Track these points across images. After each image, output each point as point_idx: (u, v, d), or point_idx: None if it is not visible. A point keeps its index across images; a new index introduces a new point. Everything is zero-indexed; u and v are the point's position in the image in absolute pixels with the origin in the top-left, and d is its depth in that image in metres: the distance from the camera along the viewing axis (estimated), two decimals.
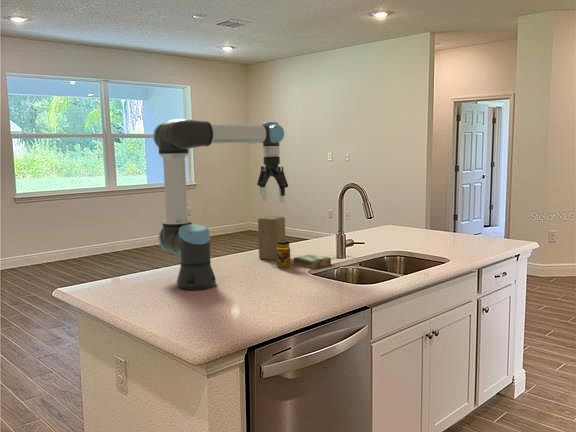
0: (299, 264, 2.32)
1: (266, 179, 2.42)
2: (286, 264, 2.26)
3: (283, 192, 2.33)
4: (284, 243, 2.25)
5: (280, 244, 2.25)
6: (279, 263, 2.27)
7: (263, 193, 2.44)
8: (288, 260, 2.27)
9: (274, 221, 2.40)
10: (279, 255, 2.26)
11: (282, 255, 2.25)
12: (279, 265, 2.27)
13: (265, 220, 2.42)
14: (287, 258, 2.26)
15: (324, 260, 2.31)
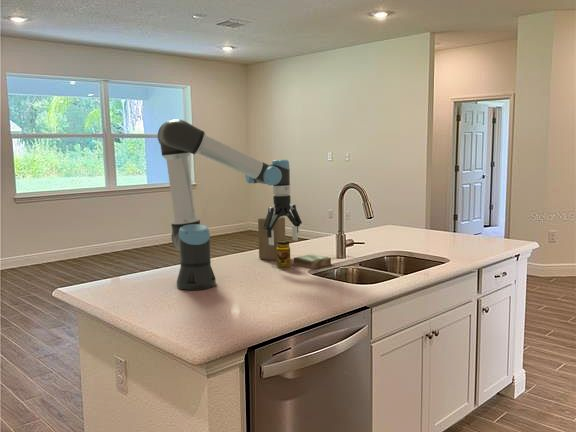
0: (299, 264, 2.32)
1: (290, 218, 2.30)
2: (286, 264, 2.26)
3: (268, 234, 2.23)
4: (284, 243, 2.25)
5: (280, 244, 2.25)
6: (279, 263, 2.27)
7: (293, 232, 2.32)
8: (288, 260, 2.27)
9: None
10: (279, 255, 2.26)
11: (282, 255, 2.25)
12: (279, 265, 2.27)
13: None
14: (287, 258, 2.26)
15: (324, 260, 2.31)
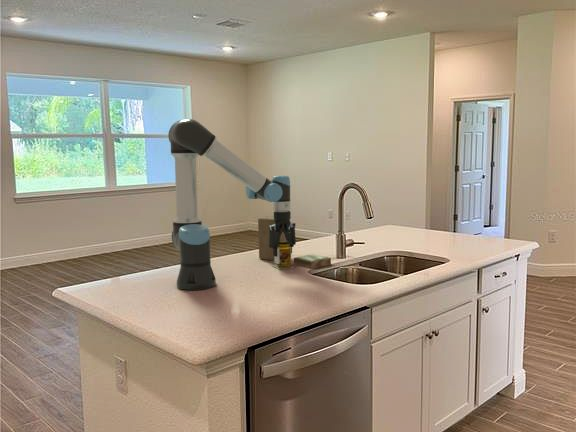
0: (299, 264, 2.32)
1: (286, 236, 2.30)
2: (287, 264, 2.26)
3: (274, 252, 2.26)
4: (285, 243, 2.25)
5: (281, 244, 2.26)
6: None
7: None
8: (288, 260, 2.27)
9: (274, 221, 2.40)
10: (279, 255, 2.26)
11: (283, 255, 2.26)
12: (279, 265, 2.27)
13: (265, 220, 2.42)
14: (287, 258, 2.26)
15: (324, 260, 2.31)
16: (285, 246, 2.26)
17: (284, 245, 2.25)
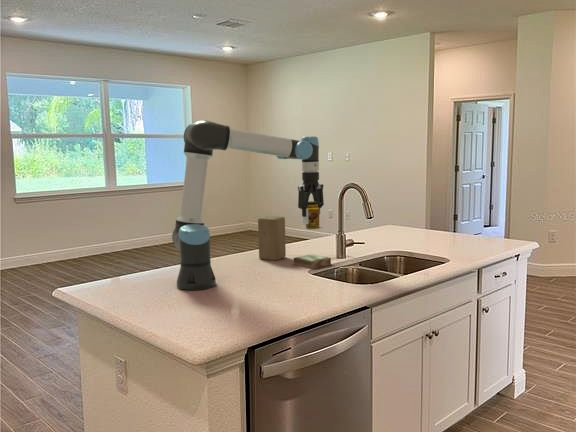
0: (299, 264, 2.32)
1: (314, 197, 2.32)
2: (316, 224, 2.29)
3: (302, 213, 2.28)
4: (313, 203, 2.27)
5: (309, 204, 2.28)
6: (308, 223, 2.29)
7: None
8: (317, 220, 2.29)
9: (274, 221, 2.40)
10: (308, 215, 2.28)
11: (312, 215, 2.28)
12: (308, 225, 2.29)
13: (265, 220, 2.42)
14: (316, 218, 2.28)
15: (324, 260, 2.31)
16: (314, 206, 2.28)
17: (313, 205, 2.27)
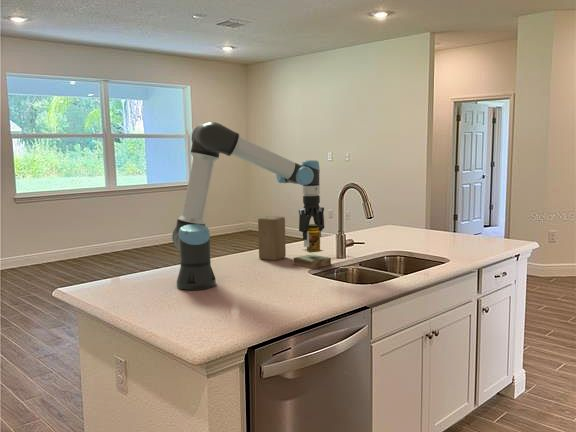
0: (299, 264, 2.32)
1: (315, 220, 2.33)
2: (316, 247, 2.30)
3: (303, 236, 2.30)
4: (314, 226, 2.29)
5: (310, 227, 2.29)
6: (309, 246, 2.30)
7: None
8: (318, 243, 2.30)
9: (274, 221, 2.40)
10: (309, 238, 2.30)
11: (312, 238, 2.29)
12: (309, 248, 2.30)
13: (265, 220, 2.42)
14: (317, 241, 2.30)
15: (324, 260, 2.31)
16: (315, 230, 2.29)
17: (314, 229, 2.29)
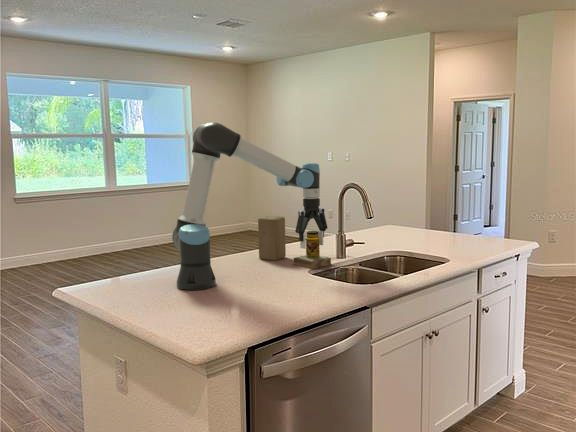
0: (299, 264, 2.32)
1: (317, 222, 2.34)
2: (316, 254, 2.30)
3: (300, 237, 2.28)
4: (314, 233, 2.29)
5: (310, 234, 2.29)
6: (309, 253, 2.31)
7: (319, 237, 2.36)
8: (317, 250, 2.31)
9: (274, 221, 2.40)
10: (309, 245, 2.30)
11: (312, 245, 2.29)
12: (309, 255, 2.31)
13: (265, 220, 2.42)
14: (316, 248, 2.30)
15: (324, 260, 2.31)
16: (314, 236, 2.29)
17: (313, 235, 2.29)
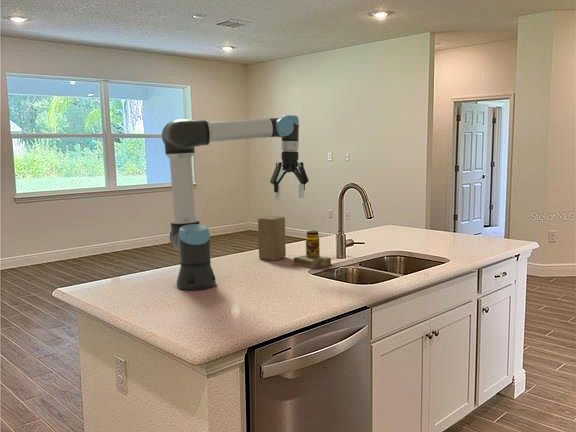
0: (299, 264, 2.32)
1: (297, 175, 2.31)
2: (316, 254, 2.30)
3: (274, 188, 2.24)
4: (314, 233, 2.29)
5: (310, 234, 2.29)
6: (309, 253, 2.31)
7: (300, 190, 2.33)
8: (317, 250, 2.31)
9: (274, 221, 2.40)
10: (309, 245, 2.30)
11: (312, 245, 2.29)
12: (309, 255, 2.31)
13: (265, 220, 2.42)
14: (316, 248, 2.30)
15: (324, 260, 2.31)
16: (314, 236, 2.29)
17: (313, 235, 2.29)
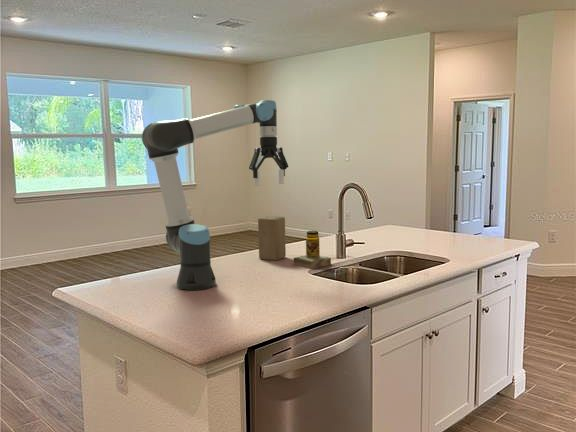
0: (299, 264, 2.32)
1: (276, 161, 2.30)
2: (316, 254, 2.30)
3: (253, 174, 2.23)
4: (314, 233, 2.29)
5: (310, 234, 2.29)
6: (309, 253, 2.31)
7: (280, 176, 2.32)
8: (317, 250, 2.31)
9: (274, 221, 2.40)
10: (309, 245, 2.30)
11: (312, 245, 2.29)
12: (309, 255, 2.31)
13: (265, 220, 2.42)
14: (316, 248, 2.30)
15: (324, 260, 2.31)
16: (314, 236, 2.29)
17: (313, 235, 2.29)
